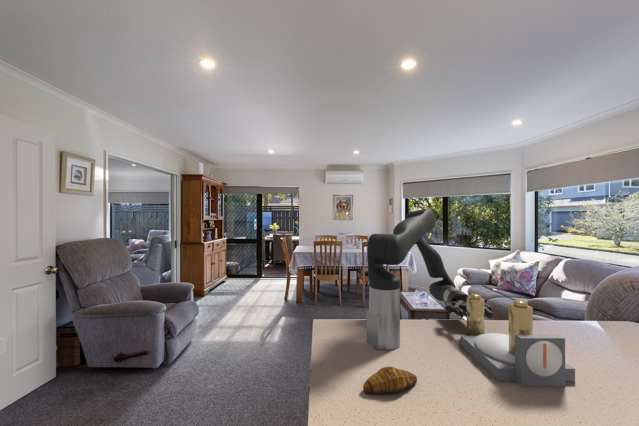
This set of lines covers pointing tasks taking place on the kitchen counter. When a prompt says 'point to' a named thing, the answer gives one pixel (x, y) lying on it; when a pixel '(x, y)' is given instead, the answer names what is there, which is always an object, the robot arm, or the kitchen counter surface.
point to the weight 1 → (475, 315)
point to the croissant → (389, 381)
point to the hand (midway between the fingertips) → (476, 315)
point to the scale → (522, 358)
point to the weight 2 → (519, 321)
